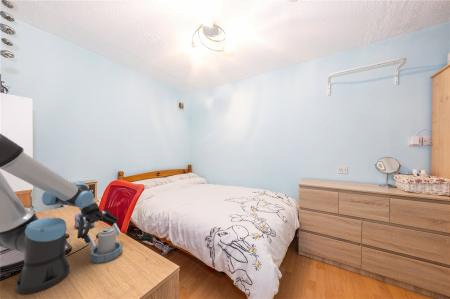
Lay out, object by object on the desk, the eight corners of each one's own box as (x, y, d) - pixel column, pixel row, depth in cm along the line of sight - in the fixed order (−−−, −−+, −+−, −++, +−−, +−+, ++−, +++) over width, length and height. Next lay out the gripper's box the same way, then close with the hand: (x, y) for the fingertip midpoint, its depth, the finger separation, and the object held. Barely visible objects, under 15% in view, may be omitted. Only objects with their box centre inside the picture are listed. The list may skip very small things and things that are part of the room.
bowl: (115, 261, 83) (116, 254, 83) (84, 264, 80) (84, 257, 80) (125, 246, 96) (125, 240, 96) (98, 249, 93) (98, 242, 93)
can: (93, 254, 86) (95, 230, 87) (109, 247, 93) (110, 225, 93) (102, 259, 83) (103, 234, 83) (118, 251, 90) (119, 228, 90)
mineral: (71, 213, 118) (89, 208, 126) (71, 226, 119) (89, 221, 127) (78, 221, 110) (97, 215, 118) (78, 235, 111) (97, 228, 119)
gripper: (106, 204, 107) (124, 233, 102) (56, 219, 83) (76, 258, 78) (113, 197, 105) (131, 226, 100) (64, 210, 81) (84, 249, 76)
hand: (107, 240), depth 89 cm, fingers open, 13 cm apart
